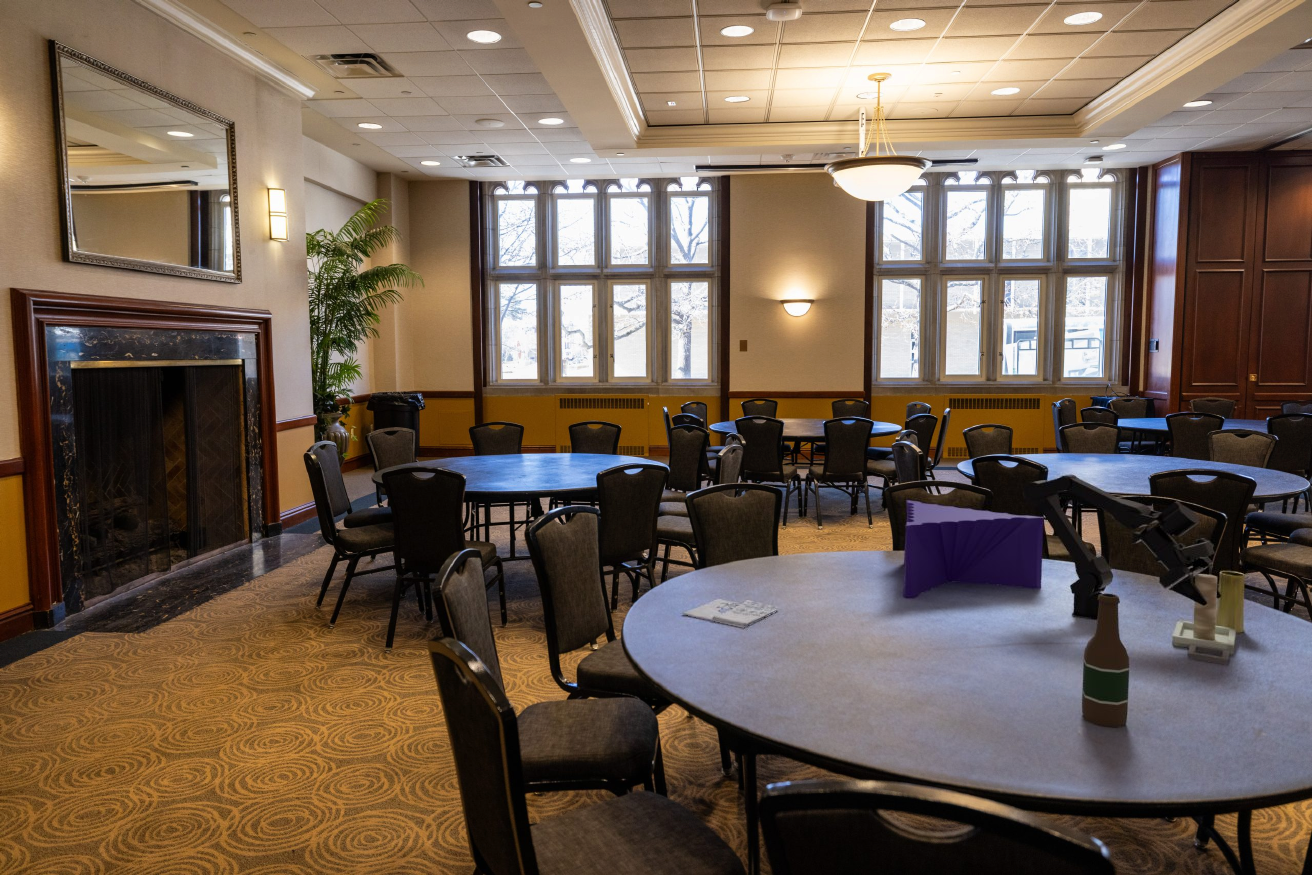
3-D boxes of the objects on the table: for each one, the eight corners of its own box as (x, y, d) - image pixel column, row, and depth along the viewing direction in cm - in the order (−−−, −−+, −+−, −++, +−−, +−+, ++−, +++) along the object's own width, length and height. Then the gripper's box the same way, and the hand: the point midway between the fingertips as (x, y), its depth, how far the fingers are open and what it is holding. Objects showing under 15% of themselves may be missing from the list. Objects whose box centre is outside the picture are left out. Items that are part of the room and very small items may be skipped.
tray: (1172, 644, 202) (1172, 635, 202) (1177, 628, 214) (1178, 620, 214) (1233, 654, 195) (1233, 645, 195) (1235, 637, 207) (1235, 628, 207)
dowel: (1196, 639, 203) (1198, 578, 201) (1190, 634, 207) (1192, 573, 206) (1217, 641, 202) (1220, 579, 200) (1211, 635, 206) (1213, 574, 204)
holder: (1187, 658, 193) (1187, 652, 193) (1190, 648, 199) (1190, 643, 199) (1227, 664, 188) (1228, 659, 188) (1229, 655, 195) (1229, 650, 194)
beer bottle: (1072, 711, 164) (1076, 590, 162) (1110, 710, 165) (1115, 588, 163) (1096, 729, 157) (1101, 601, 154) (1136, 727, 157) (1142, 600, 155)
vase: (1248, 633, 209) (1251, 576, 208) (1221, 632, 211) (1224, 575, 209) (1237, 626, 215) (1240, 570, 214) (1210, 624, 217) (1213, 569, 215)
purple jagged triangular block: (907, 562, 286) (908, 499, 284) (1042, 588, 254) (1045, 517, 252) (838, 584, 259) (839, 515, 257) (980, 616, 227) (982, 536, 225)
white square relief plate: (744, 630, 217) (744, 622, 217) (680, 617, 229) (680, 609, 229) (781, 612, 232) (781, 605, 232) (718, 600, 244) (718, 593, 244)
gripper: (1176, 533, 199) (1228, 589, 192) (1205, 523, 211) (1255, 575, 203) (1138, 560, 206) (1187, 615, 198) (1169, 549, 218) (1216, 600, 210)
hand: (1212, 600), depth 202 cm, fingers open, 9 cm apart
